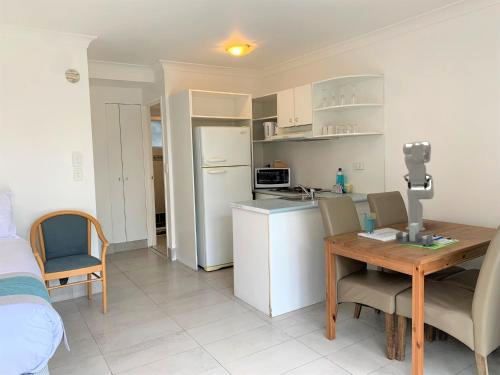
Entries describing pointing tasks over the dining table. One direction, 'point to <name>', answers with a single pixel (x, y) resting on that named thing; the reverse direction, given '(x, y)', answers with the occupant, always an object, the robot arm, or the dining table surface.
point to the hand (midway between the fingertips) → (417, 188)
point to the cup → (369, 222)
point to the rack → (418, 241)
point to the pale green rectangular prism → (413, 231)
